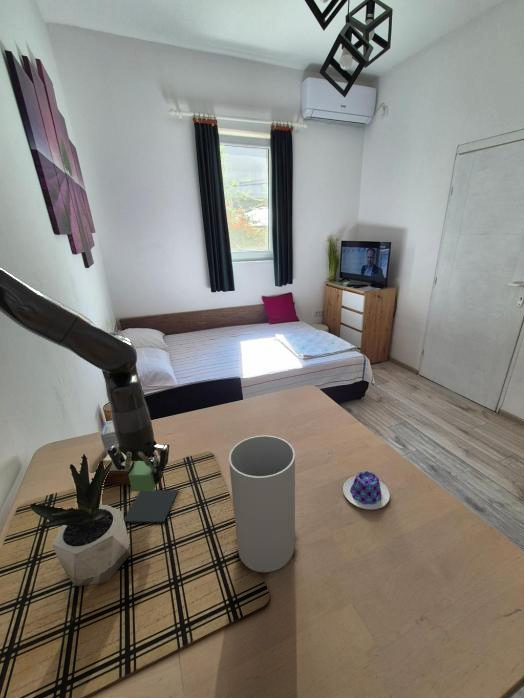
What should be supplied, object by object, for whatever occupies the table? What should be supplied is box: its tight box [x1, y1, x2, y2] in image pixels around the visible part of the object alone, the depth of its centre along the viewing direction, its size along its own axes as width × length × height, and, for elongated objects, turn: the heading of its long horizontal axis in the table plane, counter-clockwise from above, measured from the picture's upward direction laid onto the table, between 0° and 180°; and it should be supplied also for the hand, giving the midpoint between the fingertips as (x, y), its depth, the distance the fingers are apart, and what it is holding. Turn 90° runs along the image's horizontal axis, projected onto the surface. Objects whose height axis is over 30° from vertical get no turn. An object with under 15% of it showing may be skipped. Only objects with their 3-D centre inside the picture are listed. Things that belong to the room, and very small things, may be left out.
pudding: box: [342, 470, 391, 510], centre depth 85 cm, size 12×12×5 cm
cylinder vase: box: [228, 434, 296, 573], centre depth 67 cm, size 12×12×25 cm
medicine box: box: [100, 420, 119, 456], centre depth 102 cm, size 8×4×9 cm, turn 22°
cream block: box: [102, 453, 137, 471], centre depth 91 cm, size 7×7×4 cm
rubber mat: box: [123, 489, 179, 524], centre depth 82 cm, size 10×10×1 cm
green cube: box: [128, 461, 158, 493], centre depth 78 cm, size 5×5×5 cm
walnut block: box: [103, 471, 131, 486], centre depth 93 cm, size 9×9×4 cm
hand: (146, 481), depth 79 cm, fingers closed on green cube, 5 cm apart
